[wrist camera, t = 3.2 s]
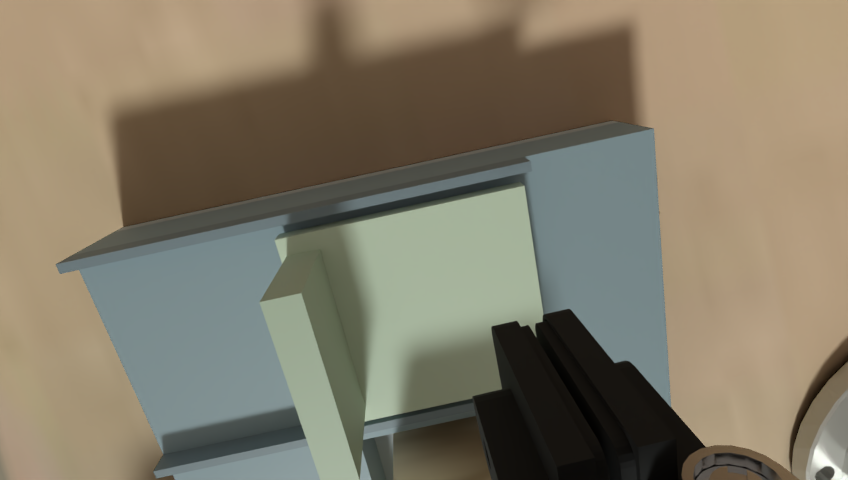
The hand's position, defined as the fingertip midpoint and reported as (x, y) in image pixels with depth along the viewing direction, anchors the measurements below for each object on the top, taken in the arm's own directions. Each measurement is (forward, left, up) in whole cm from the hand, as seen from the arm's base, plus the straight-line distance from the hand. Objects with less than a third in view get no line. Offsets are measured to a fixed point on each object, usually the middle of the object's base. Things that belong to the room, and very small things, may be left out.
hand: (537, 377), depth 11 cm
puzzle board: (+3, +5, -9) cm, 11 cm away
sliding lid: (+2, +1, -6) cm, 6 cm away
